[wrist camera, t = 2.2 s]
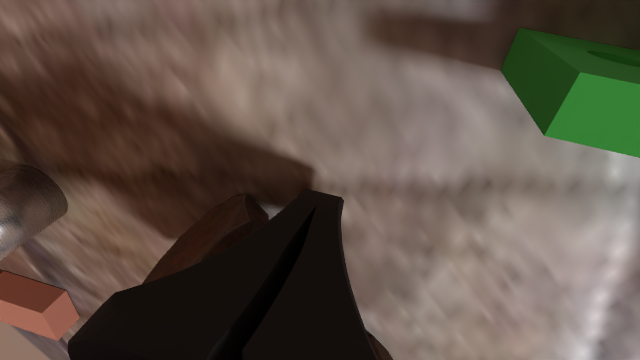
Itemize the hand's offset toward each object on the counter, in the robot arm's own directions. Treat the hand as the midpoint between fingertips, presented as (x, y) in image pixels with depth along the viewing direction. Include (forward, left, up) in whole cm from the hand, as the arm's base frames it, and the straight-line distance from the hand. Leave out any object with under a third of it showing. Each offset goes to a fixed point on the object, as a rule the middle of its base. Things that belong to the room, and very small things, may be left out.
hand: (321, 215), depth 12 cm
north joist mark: (-14, +19, -1) cm, 24 cm away
